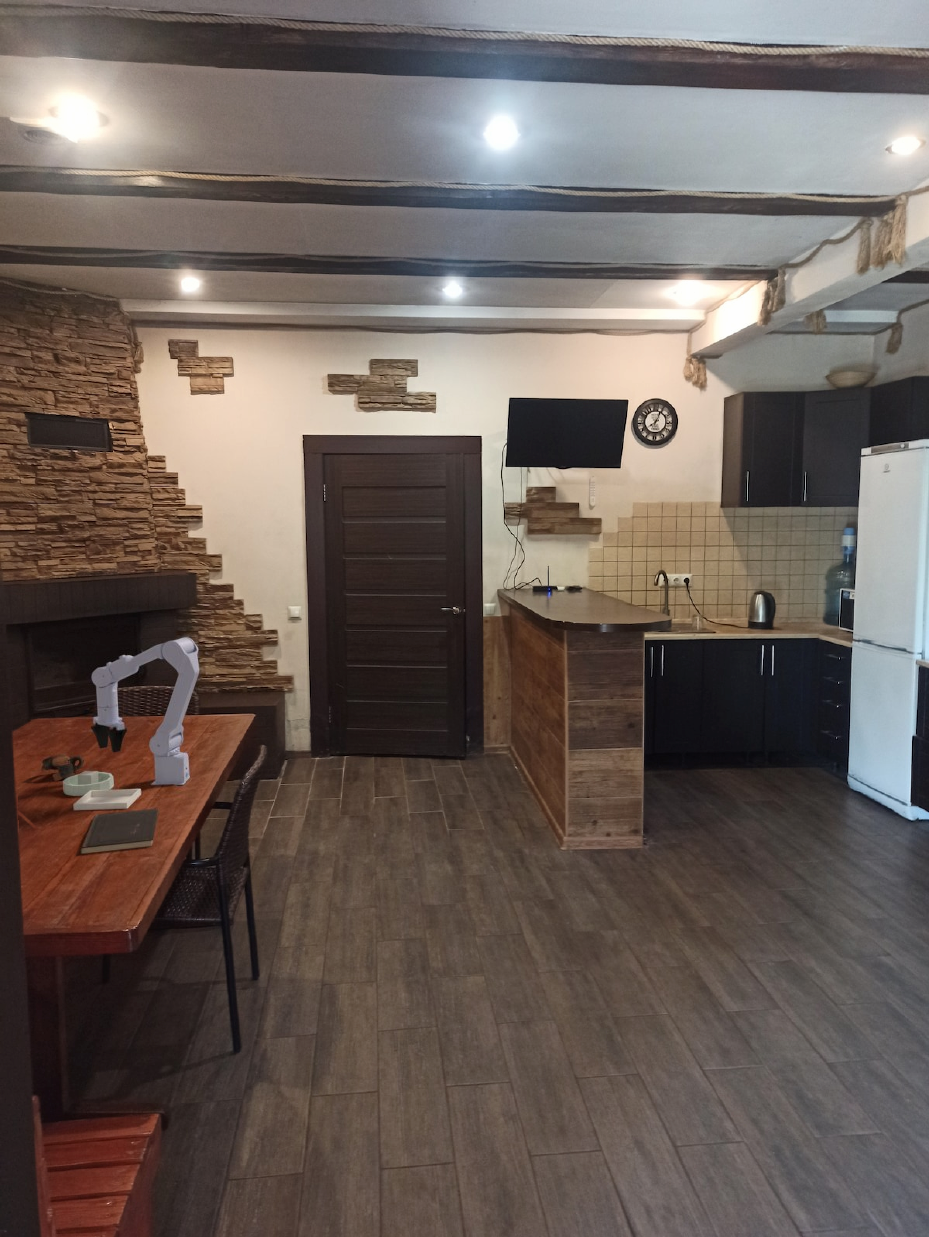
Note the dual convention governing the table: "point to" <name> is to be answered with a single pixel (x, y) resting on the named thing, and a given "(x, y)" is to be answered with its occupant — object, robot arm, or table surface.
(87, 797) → the tray
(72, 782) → the bowl
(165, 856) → the table surface
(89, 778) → the block
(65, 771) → the pottery mug
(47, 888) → the table surface
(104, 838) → the hardcover book
